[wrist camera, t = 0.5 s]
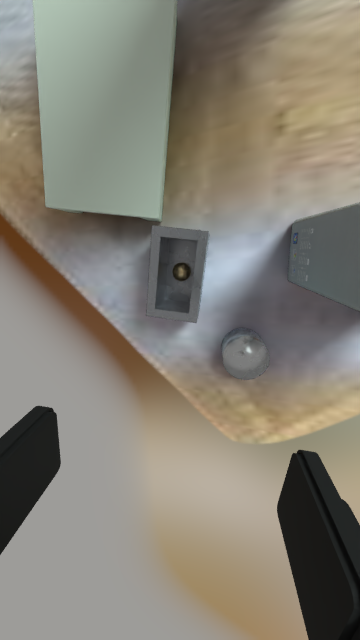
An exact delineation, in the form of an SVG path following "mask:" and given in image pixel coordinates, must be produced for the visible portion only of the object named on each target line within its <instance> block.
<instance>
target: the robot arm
mask: <svg viewBox="0 0 360 640" xmlns="http://www.w3.org/2000/svg"><path fill="white" fill-rule="evenodd" d="M60 464H61V461H60V449H59V438H58V426H57V415H56V413H55V412H54V411H53V409H52V408H49V407H42V406H36V407H35V408H33V409H32V410H31V411H30V412H29V413H28V414H27V415H25V416H24V417H23V418H22V419H21V420H20V421H19V422H18V423H16V424H15V425H14V426H13V427H12V428H11V429H10V430H9V431H8V432H6V433H5V434H4V435H3V436H2V437H1V438H0V554H1V553H2V552H3V550H4V549H5V547H6V546H7V544H8V543H9V541H10V540H11V538H12V537H13V536H14V534H15V533H16V531H17V530H18V528H19V527H20V526H21V524H22V523H23V521H24V520H25V518H26V517H27V515H28V514H29V512H30V511H31V510H32V508H33V507H34V505H35V504H36V502H37V501H38V499H39V498H40V497H41V495H42V494H43V492H44V491H45V489H46V488H47V487H48V485H49V484H50V482H51V481H52V479H53V478H54V477H55V475H56V473H57V472H58V470H59V468H60ZM277 513H278V518H279V522H280V526H281V530H282V534H283V538H284V542H285V546H286V550H287V554H288V558H289V562H290V566H291V570H292V574H293V578H294V582H295V586H296V590H297V594H298V598H299V602H300V606H301V610H302V615H303V618H304V623H305V626H306V631H307V635H308V638H309V640H360V525H359V523H358V521H357V519H356V518H355V516H354V514H353V512H352V510H351V508H350V507H349V505H348V504H347V503H346V502H345V501H344V500H342V499H341V498H340V496H339V494H338V492H337V490H336V488H335V486H334V484H333V482H332V480H331V478H330V476H329V475H328V473H327V471H326V469H325V467H324V465H323V463H322V461H321V459H320V457H319V456H318V454H317V453H315V452H310V451H304V450H298V451H297V454H296V453H293V454H292V457H291V460H290V464H289V467H288V470H287V474H286V477H285V481H284V484H283V488H282V491H281V494H280V498H279V501H278V505H277Z"/></svg>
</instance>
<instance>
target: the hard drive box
mask: <svg viewBox="0 0 360 640" xmlns="http://www.w3.org/2000/svg"><path fill="white" fill-rule="evenodd" d="M288 281H290V282H292V283H294V284H296V285H298V286H301V287H303V288H305V289H308V290H310V291H313V292H315V293H317V294H320V295H322V296H324V297H327V298H329V299H331V300H334V301H336V302H338V303H341V304H343V305H345V306H348V307H350V308H352V309H355V310H357V311H359V312H360V202H359V203H355V204H352V205H348V206H345V207H341V208H337V209H334V210H330V211H327V212H323V213H319V214H316V215H312V216H308V217H305V218H301V219H298V220H296V221H295V222H294V223H293V225H292V235H291V245H290V257H289V268H288Z"/></svg>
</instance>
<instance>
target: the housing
mask: <svg viewBox="0 0 360 640" xmlns="http://www.w3.org/2000/svg"><path fill="white" fill-rule="evenodd" d="M209 236H210V235H209V231H200V230H191V229H181V228H172V227H162V226H153V225H152V233H151V248H150V264H149V279H148V294H147V310H146V316H151V317H158V318H165V319H172V320H179V321H186V322H193V323H197V318H198V313H199V309H200V302H201V294H202V287H203V280H204V272H205V265H206V258H207V250H208V243H209Z"/></svg>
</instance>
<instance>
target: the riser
mask: <svg viewBox="0 0 360 640" xmlns="http://www.w3.org/2000/svg"><path fill="white" fill-rule="evenodd" d="M176 13H177V0H33V14H34V30H35V46H36V62H37V78H38V94H39V110H40V126H41V141H42V157H43V173H44V189H45V205H46V207H48V208H52V209H58V210H62V211H66V212H72V213H81V214H83V212H91V213H101V214H110V215H120V216H130V217H140V218H143V219H145V220H149V221H159V222H162V210H163V197H164V184H165V170H166V157H167V144H168V131H169V118H170V105H171V92H172V79H173V66H174V53H175V40H176V27H177V15H176Z"/></svg>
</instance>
